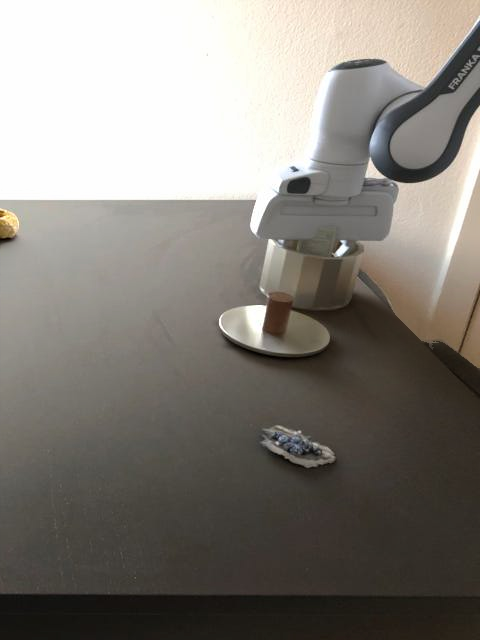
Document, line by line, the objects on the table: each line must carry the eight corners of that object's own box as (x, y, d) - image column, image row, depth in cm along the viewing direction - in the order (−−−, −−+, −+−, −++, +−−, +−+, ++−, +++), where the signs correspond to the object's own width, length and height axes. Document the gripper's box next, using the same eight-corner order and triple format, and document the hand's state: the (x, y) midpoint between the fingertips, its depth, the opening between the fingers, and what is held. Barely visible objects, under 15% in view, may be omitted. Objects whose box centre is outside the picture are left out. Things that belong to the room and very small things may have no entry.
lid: (305, 313, 111) (314, 276, 108) (345, 361, 98) (357, 321, 95) (206, 312, 111) (213, 274, 108) (234, 360, 98) (242, 319, 95)
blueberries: (261, 424, 85) (264, 410, 84) (336, 440, 82) (340, 426, 81) (256, 457, 79) (259, 443, 78) (336, 475, 77) (340, 461, 76)
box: (323, 287, 118) (340, 221, 113) (322, 297, 115) (339, 229, 109) (289, 282, 120) (304, 215, 115) (286, 291, 117) (301, 224, 111)
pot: (329, 276, 124) (342, 227, 119) (365, 311, 112) (380, 258, 108) (248, 275, 123) (258, 226, 119) (275, 310, 112) (286, 257, 107)
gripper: (391, 172, 111) (368, 258, 118) (256, 170, 111) (240, 257, 118) (412, 184, 106) (386, 274, 113) (269, 182, 106) (252, 272, 112)
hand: (310, 265), depth 115 cm, fingers closed on box, 6 cm apart
